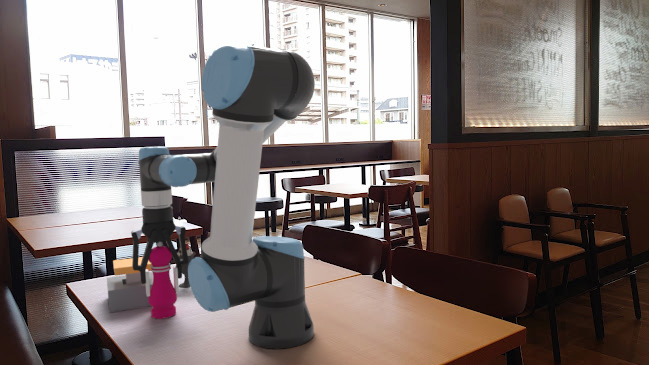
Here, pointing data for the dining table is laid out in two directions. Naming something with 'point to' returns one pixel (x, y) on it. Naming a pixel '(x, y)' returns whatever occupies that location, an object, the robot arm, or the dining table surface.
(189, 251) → the sundae
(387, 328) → the dining table surface
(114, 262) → the button
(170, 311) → the pepper mill
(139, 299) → the breaker box
